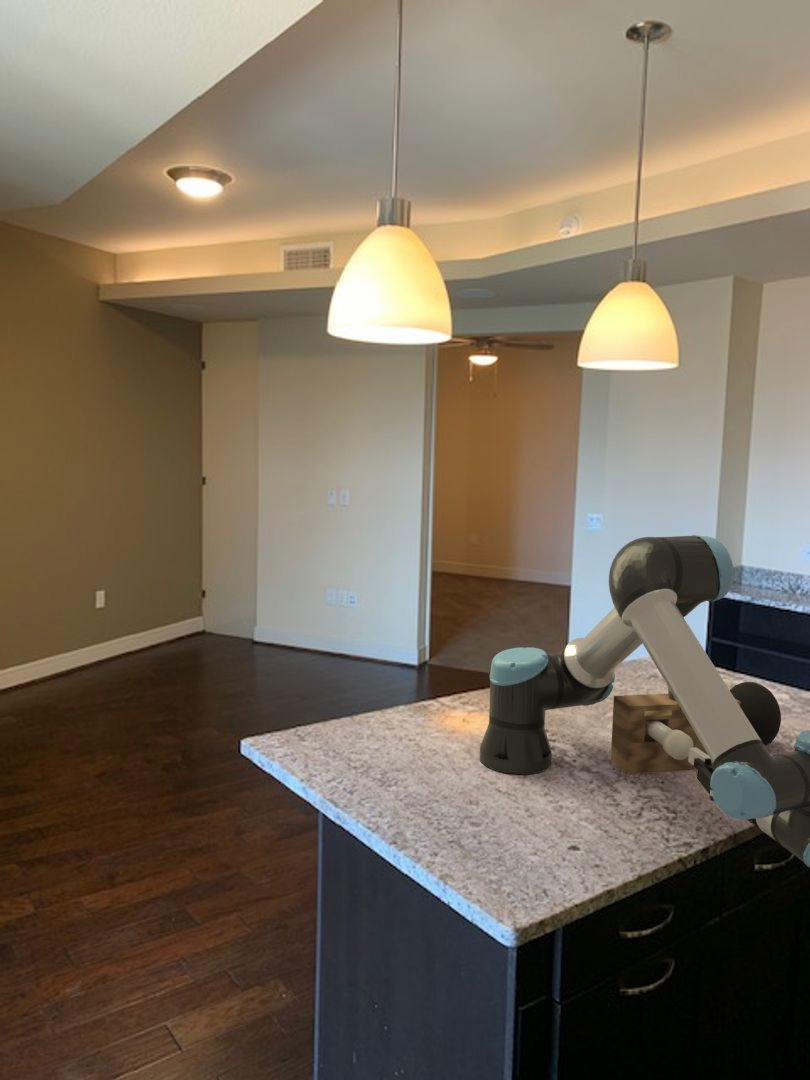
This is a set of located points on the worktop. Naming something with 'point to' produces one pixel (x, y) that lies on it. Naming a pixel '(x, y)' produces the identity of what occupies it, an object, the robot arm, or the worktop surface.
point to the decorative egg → (759, 709)
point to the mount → (638, 748)
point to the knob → (669, 739)
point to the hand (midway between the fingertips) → (692, 754)
